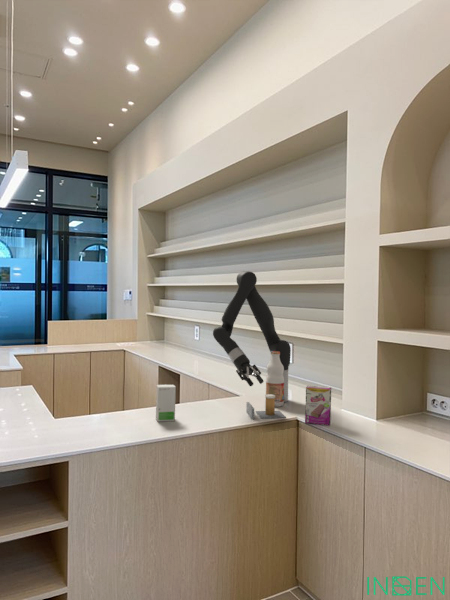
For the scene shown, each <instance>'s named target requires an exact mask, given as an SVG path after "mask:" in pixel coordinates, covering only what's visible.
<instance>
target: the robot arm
mask: <svg viewBox="0 0 450 600" xmlns="http://www.w3.org/2000/svg"><path fill="white" fill-rule="evenodd" d="M257 280H258V279H257V275H256V274H255V273H254V272H252V271H249V270H247V271H245V270H243V271H240V272H239V273H237V276H236V284H237V286H238V289H237V291H236V293H235V294H234V296H233V298H232V299H231V301H229V303H228V304H227V307H226V308H225V311H224V313H223V314H222V317H221V322H222V323H221V326H216V327H215V328H213V331H212V336H213V338H214V339H215V341H216V342H217V343H218V344H219V346H221V347H222V348H223V350H224V351H225V353H226V354H227V356H228V357H229V359H230V362H232V364H233V365H234V366H235V368H236V371H235V372H236V373H237V375H238V377H239V378H240V379H241V381H245V382H246V384H247V385H248V386H249V387H252V386H253V385H254V382H253V381H252V379H251V378H250V376H251V377H255V378H256V380H257V381H258V382H259V384H260V385H262V384H263V383H264V379H263V378H262V377H261V375H262V372H261V371H260V369H259V368H258V367H257V365H256V364H253V365H252V364H250V359H249V357H248V356H247V355H246V353H245V352H244V351H243V349H242V348H241V347H240V346H239V345H238V343H237V342H236V341H235V340H234V339H232V338H231V336H232V333H233V330H234V323H235V322H236V320H237V317H239V313H240V311H241V309H242V307H243V305H244V303H245V302H246V301H247V303H248V306H249V309H250V310H251V313H252V314H253V317H254V319H255V321H256V323H257V324H258V327H259V329H260V330H261V333H262V334H263V336H264V339H265V342H266V344H267V347H268V350H269V351H270V353H271V351H279V352H280V355H279V357H280V361H281V363H282V365H283V366H284V372H283V376H284V403H287V402H288V401H289V367H290V363H291V353H292V352H291V351H292V350H291V345H290V343H289V342H288V341H287V340H284V339H281V338H280V337H279V335H278V333H277V330H276V328H275V318H274V315H273V313H272V311H271V309H270V307H269V305H268V303H267V302H266V301H265V299H264V298H263V297H262V296H261V295H260V293H259V292H258V290H257V287H256V284H257Z"/></svg>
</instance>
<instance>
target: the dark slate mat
mask: <svg viewBox="0 0 450 600" xmlns="http://www.w3.org/2000/svg"><path fill="white" fill-rule="evenodd" d="M255 413H256V414H257V415H258V417H259V418H260V419H262V420H263V419H286V418H287V417H286V415H285V414H284V413H282V412H281V411H280V410H275V415H266V414H265V410H255Z"/></svg>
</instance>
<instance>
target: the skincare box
mask: <svg viewBox="0 0 450 600" xmlns="http://www.w3.org/2000/svg"><path fill="white" fill-rule="evenodd" d="M176 388H177V387H176V385H175V384H156V402H155V405H156V406H155V419H156V421H157V422H175V419H176Z"/></svg>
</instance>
